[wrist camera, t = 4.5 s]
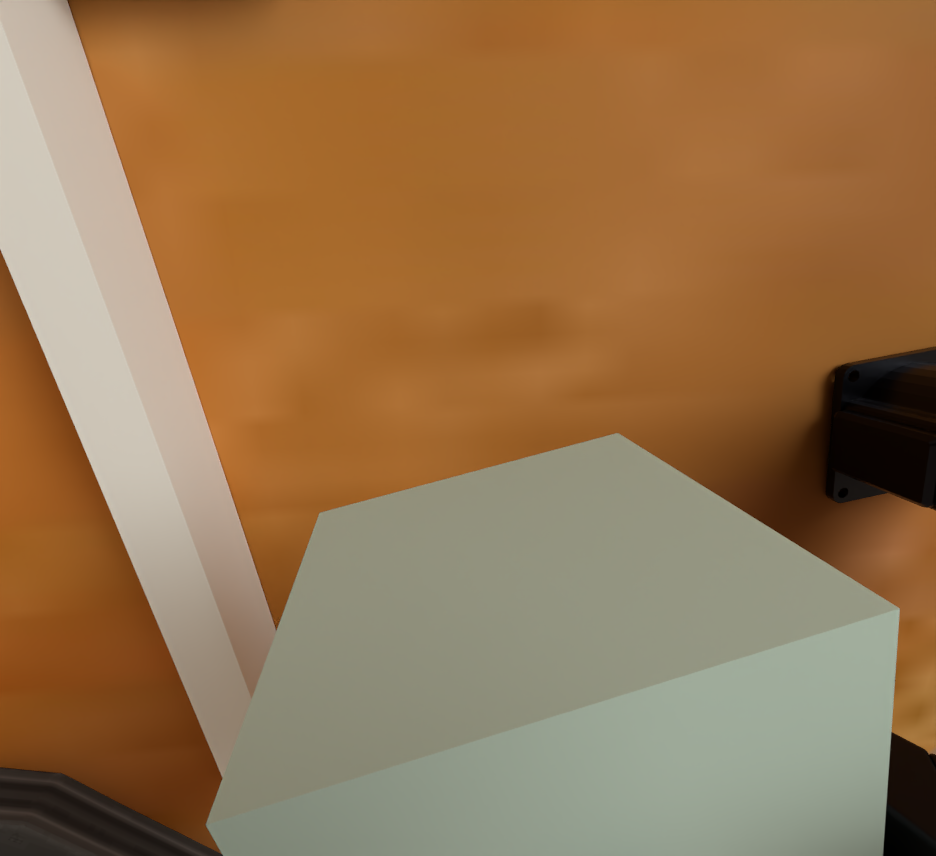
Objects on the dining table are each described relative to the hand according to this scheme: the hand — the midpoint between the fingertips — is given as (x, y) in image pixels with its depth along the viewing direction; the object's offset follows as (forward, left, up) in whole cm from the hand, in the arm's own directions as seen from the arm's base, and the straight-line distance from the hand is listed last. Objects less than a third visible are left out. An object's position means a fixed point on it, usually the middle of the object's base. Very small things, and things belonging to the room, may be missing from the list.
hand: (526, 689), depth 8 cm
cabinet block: (0, 0, -1) cm, 1 cm away
